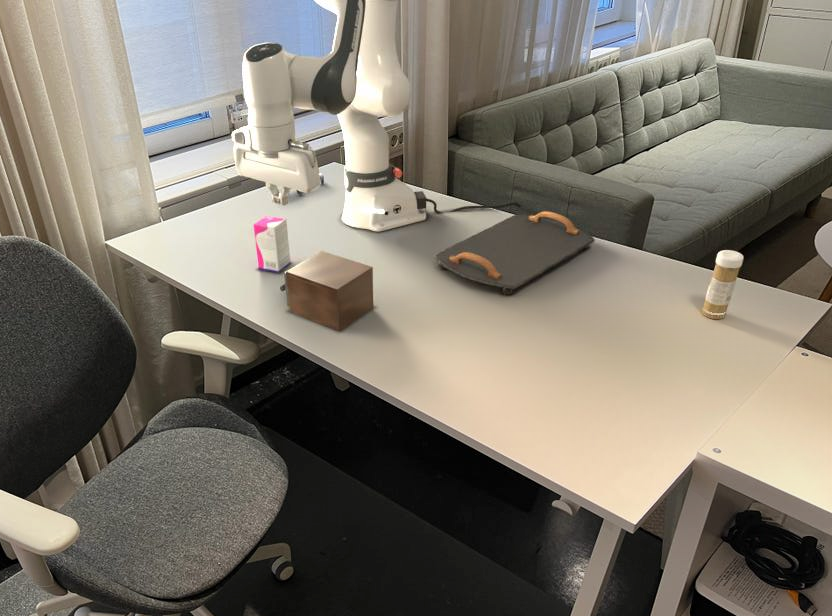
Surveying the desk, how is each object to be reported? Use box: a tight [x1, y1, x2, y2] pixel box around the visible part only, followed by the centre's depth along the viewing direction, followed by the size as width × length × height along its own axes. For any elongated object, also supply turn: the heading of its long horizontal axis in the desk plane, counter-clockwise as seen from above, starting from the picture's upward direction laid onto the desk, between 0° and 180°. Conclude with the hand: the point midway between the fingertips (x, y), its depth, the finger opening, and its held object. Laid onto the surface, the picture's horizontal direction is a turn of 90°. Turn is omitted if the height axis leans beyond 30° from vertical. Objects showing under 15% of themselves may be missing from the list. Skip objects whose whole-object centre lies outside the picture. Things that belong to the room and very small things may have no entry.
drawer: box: [279, 271, 289, 307], centre depth 149 cm, size 16×10×8 cm, turn 52°
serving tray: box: [434, 210, 596, 296], centre depth 165 cm, size 39×23×6 cm, turn 134°
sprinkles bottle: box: [701, 249, 745, 320], centre depth 140 cm, size 5×5×13 cm
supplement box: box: [253, 215, 292, 274], centre depth 165 cm, size 6×6×12 cm
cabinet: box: [285, 250, 374, 332], centre depth 147 cm, size 14×12×10 cm
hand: (280, 203), depth 145 cm, fingers closed
